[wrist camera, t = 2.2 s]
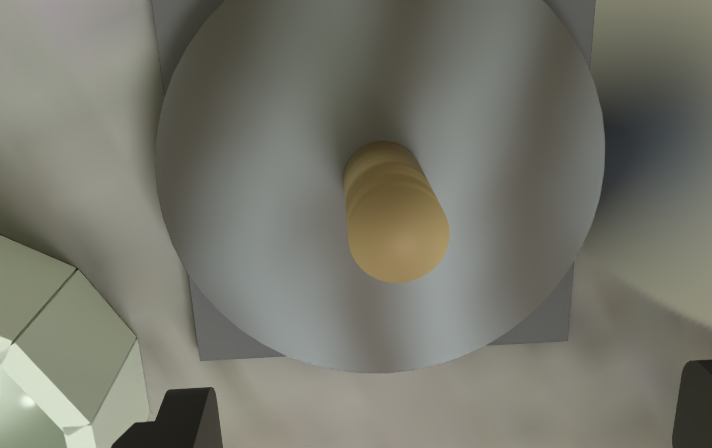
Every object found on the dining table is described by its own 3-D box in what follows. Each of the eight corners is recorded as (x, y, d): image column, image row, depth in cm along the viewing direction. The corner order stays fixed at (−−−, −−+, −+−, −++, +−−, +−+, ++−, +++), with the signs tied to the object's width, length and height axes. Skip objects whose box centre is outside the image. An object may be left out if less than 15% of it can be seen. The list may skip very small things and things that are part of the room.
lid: (615, -71, 23) (727, -93, 17) (577, 350, 29) (650, 456, 23) (129, -53, 23) (51, -68, 16) (190, 371, 29) (149, 486, 22)
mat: (593, -54, 24) (600, -56, 24) (563, 334, 30) (567, 341, 29) (150, -38, 24) (146, -38, 23) (202, 353, 29) (199, 360, 29)
